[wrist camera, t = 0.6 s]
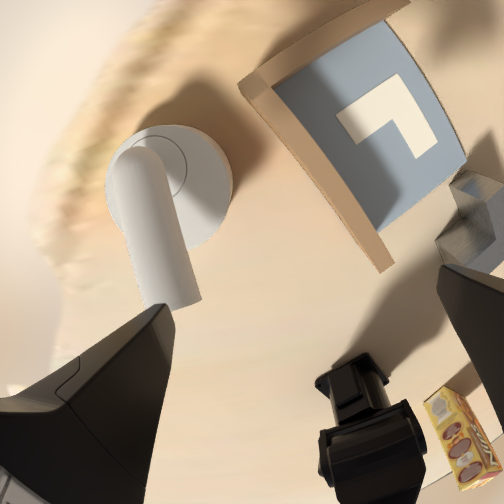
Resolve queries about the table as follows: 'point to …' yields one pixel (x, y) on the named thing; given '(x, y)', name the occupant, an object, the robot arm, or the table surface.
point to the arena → (358, 120)
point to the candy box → (462, 439)
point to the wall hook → (168, 206)
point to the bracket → (475, 224)
